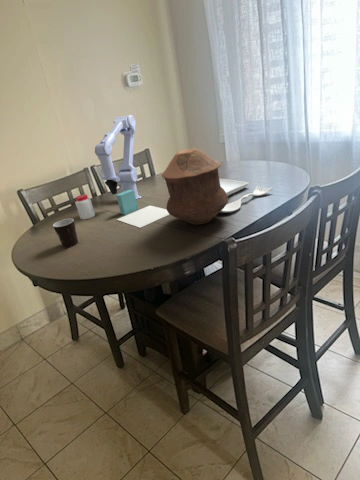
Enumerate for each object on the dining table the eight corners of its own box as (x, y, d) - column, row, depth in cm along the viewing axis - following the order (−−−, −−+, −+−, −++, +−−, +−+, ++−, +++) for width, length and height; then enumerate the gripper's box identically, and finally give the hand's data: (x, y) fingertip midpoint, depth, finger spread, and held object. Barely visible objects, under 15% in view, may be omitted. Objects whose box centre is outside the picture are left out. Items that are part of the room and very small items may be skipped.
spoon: (274, 193, 162) (273, 186, 161) (228, 217, 145) (227, 210, 144) (258, 191, 169) (258, 184, 167) (212, 214, 152) (211, 206, 150)
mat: (116, 220, 165) (116, 219, 165) (150, 205, 176) (150, 205, 176) (140, 228, 150) (140, 227, 150) (175, 212, 161) (175, 211, 161)
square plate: (214, 206, 160) (213, 198, 158) (175, 199, 180) (174, 192, 178) (250, 188, 175) (249, 181, 173) (211, 183, 195) (210, 176, 193)
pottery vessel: (241, 222, 137) (233, 146, 125) (180, 240, 132) (165, 162, 120) (216, 205, 160) (207, 139, 148) (163, 219, 155) (149, 152, 143)
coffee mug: (62, 241, 151) (55, 220, 147) (82, 238, 151) (75, 217, 147) (56, 253, 141) (48, 231, 137) (77, 249, 141) (70, 227, 137)
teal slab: (120, 213, 173) (115, 194, 169) (134, 208, 177) (129, 189, 173) (125, 215, 170) (120, 195, 166) (138, 209, 174) (133, 190, 170)
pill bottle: (98, 213, 180) (92, 193, 175) (90, 219, 173) (83, 198, 169) (85, 213, 182) (79, 194, 178) (77, 219, 176) (70, 199, 171)
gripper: (94, 169, 176) (101, 194, 181) (108, 171, 165) (115, 198, 171) (106, 165, 180) (112, 190, 185) (120, 167, 169) (127, 193, 175)
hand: (114, 193), depth 178 cm, fingers closed
